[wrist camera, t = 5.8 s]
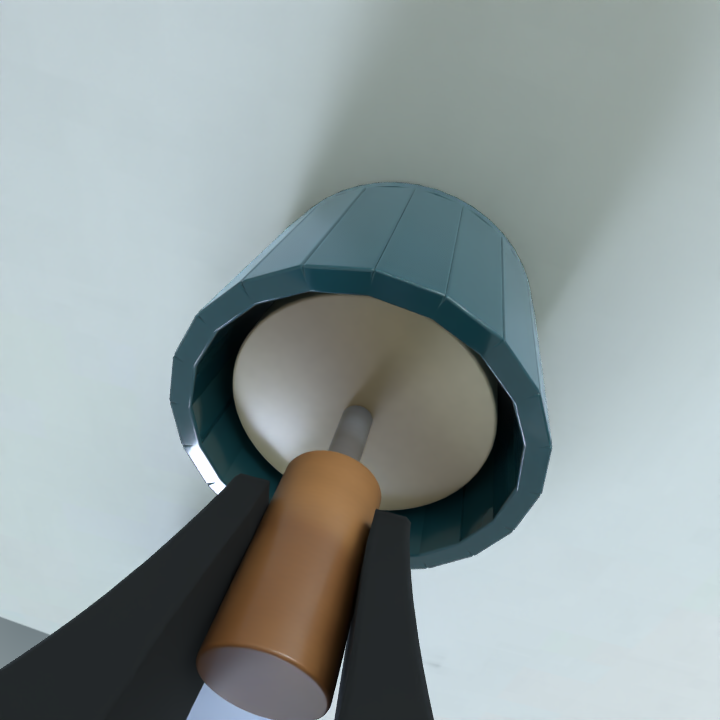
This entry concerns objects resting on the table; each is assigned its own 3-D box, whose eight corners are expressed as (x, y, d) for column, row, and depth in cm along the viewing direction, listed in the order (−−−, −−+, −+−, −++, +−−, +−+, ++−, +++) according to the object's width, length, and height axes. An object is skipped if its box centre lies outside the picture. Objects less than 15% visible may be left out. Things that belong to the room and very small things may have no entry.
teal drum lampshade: (368, 451, 22) (324, 598, 16) (219, 278, 19) (101, 384, 13) (583, 358, 17) (624, 516, 12) (431, 114, 14) (389, 169, 9)
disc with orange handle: (356, 479, 18) (257, 798, 11) (221, 329, 16) (-25, 597, 8) (543, 403, 15) (590, 789, 7) (404, 201, 13) (268, 455, 5)
